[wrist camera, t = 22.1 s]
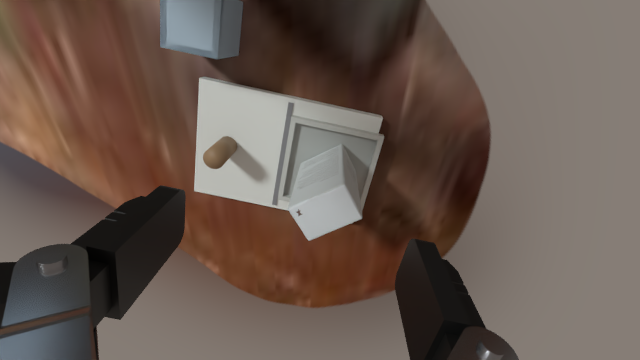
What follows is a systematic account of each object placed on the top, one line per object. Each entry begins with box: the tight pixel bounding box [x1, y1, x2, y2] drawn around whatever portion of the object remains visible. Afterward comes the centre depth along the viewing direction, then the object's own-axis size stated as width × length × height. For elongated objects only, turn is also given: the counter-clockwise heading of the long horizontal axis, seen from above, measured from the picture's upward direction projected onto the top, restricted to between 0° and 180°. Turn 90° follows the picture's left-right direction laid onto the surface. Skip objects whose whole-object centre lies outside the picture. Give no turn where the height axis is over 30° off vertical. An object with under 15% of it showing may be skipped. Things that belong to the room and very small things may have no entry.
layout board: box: [194, 77, 384, 224], centre depth 39 cm, size 23×15×6 cm, turn 78°
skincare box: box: [288, 144, 362, 241], centre depth 35 cm, size 6×4×12 cm
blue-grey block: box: [160, 0, 243, 59], centre depth 33 cm, size 6×6×7 cm
